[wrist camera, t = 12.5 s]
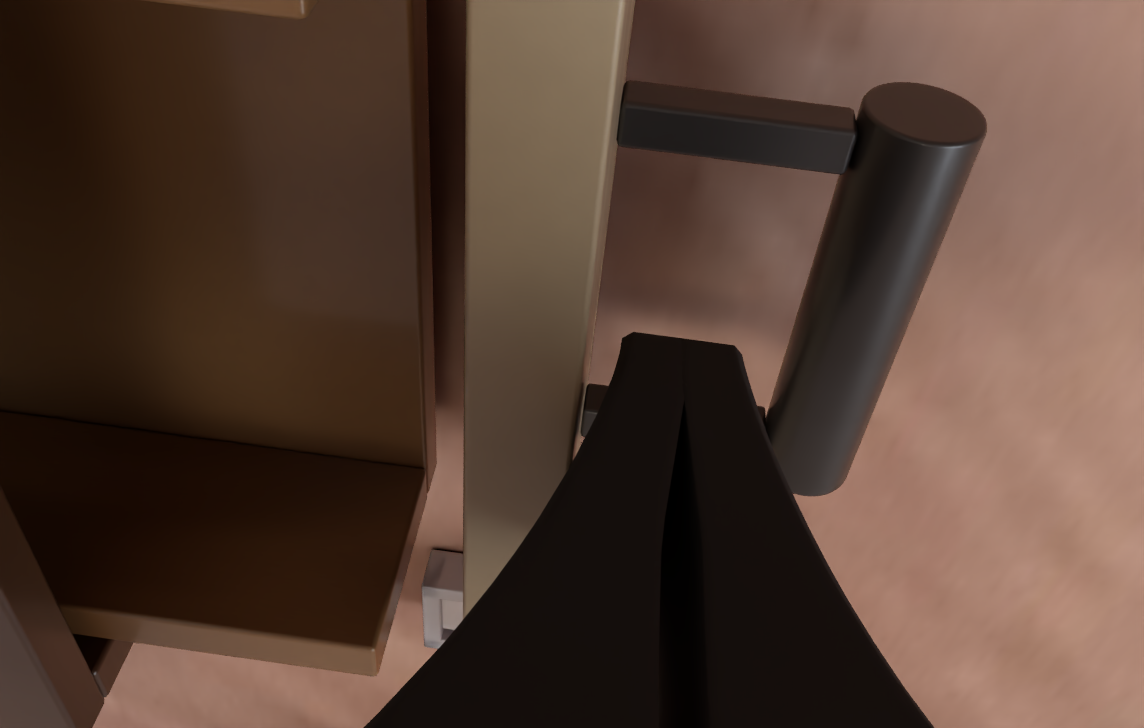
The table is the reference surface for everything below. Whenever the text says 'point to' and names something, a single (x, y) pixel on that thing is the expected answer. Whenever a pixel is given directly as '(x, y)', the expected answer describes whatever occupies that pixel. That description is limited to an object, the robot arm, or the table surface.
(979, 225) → the table surface
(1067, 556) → the table surface
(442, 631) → the block
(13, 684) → the cabinet
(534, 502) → the drawer
